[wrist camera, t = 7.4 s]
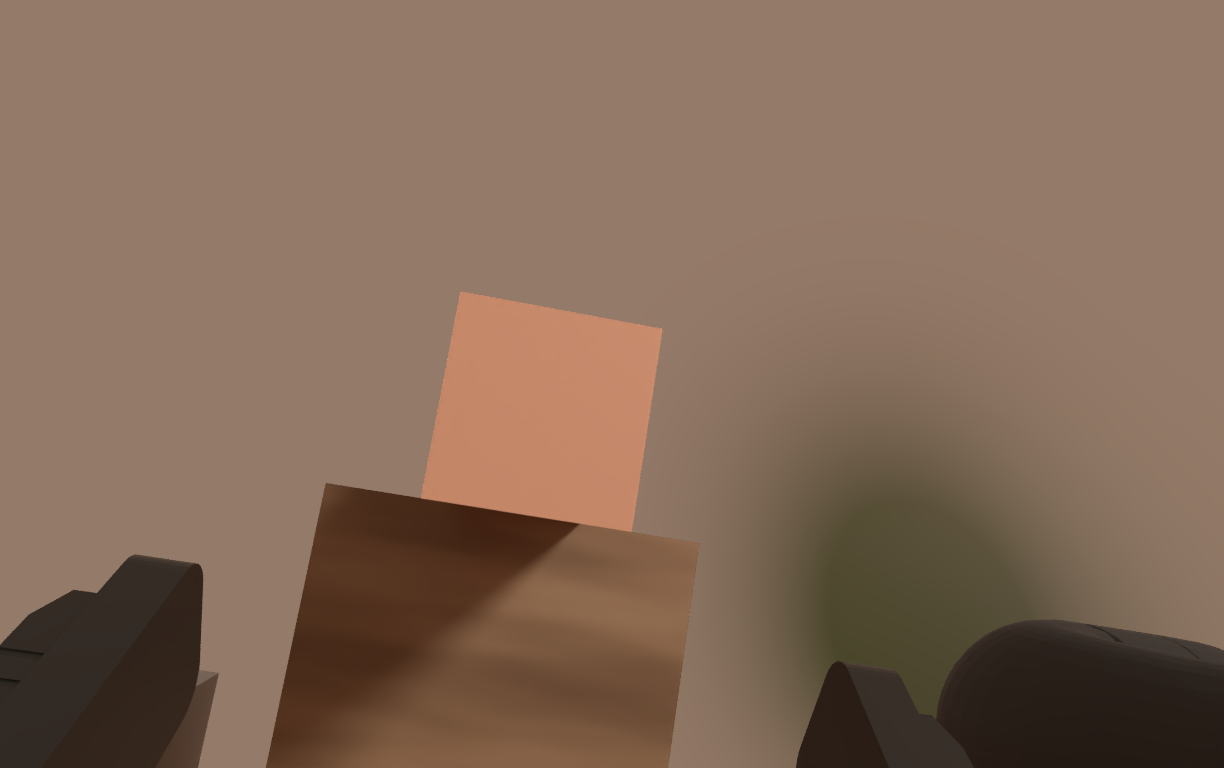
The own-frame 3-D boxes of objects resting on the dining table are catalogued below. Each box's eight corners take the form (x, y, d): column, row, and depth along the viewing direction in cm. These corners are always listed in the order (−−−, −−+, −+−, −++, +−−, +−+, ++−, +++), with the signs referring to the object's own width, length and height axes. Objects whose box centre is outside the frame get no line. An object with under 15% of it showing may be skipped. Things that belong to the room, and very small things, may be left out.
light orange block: (465, 505, 36) (481, 421, 36) (550, 519, 36) (564, 435, 37) (420, 498, 14) (460, 291, 15) (631, 531, 15) (662, 329, 15)
